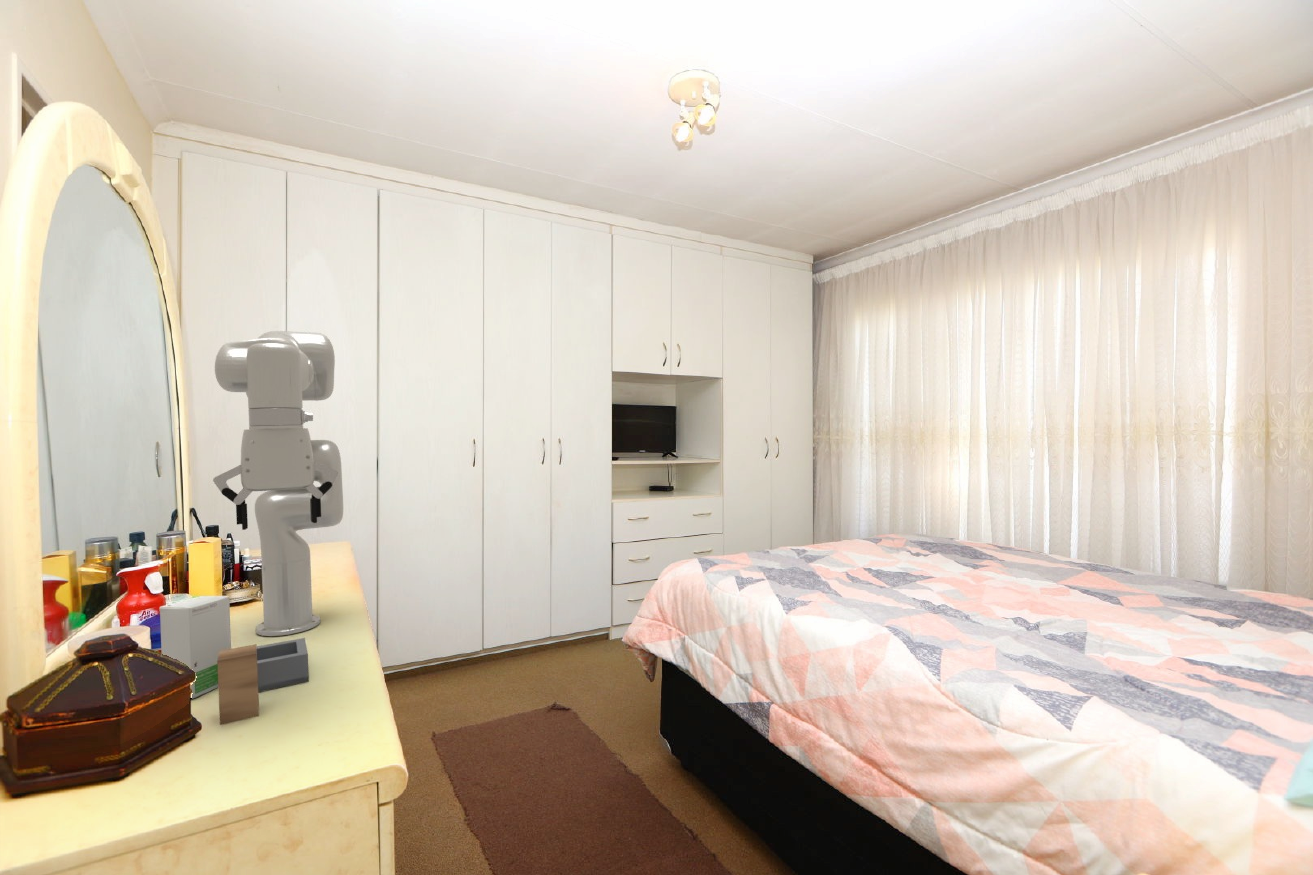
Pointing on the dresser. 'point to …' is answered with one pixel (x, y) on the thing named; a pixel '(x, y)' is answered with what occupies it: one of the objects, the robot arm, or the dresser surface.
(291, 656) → the grey well
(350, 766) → the dresser surface
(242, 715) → the oak block
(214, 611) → the skincare box
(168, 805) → the dresser surface
